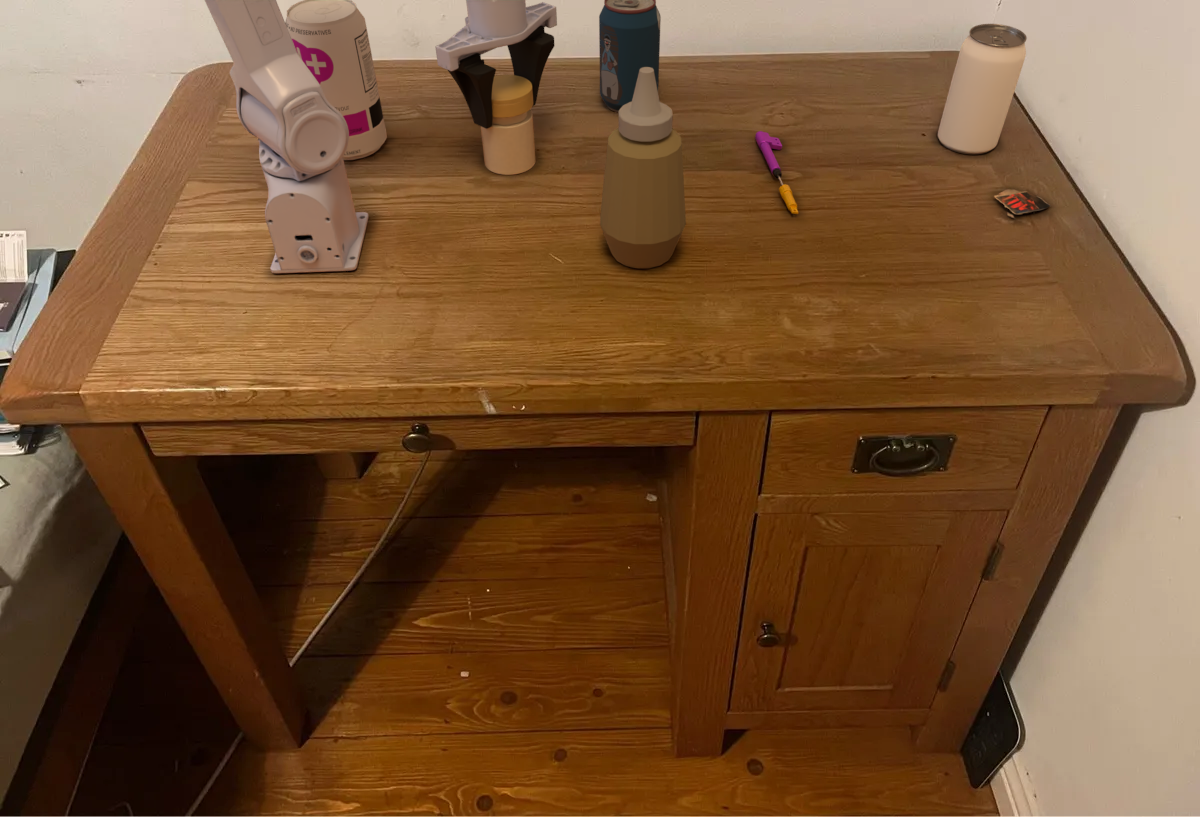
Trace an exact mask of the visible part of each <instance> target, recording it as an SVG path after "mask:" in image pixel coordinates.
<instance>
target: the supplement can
mask: <svg viewBox="0 0 1200 817" xmlns="http://www.w3.org/2000/svg"><path fill="white" fill-rule="evenodd" d="M285 24H286V26H287V29H288V31H289V34H290V36H291V39H292V41H293V43H294V46H295V48H296V51H297V53H298V55H299V56H300V58H301V59H302V61H303V62H304V63H305V65H306V66H307V67H308V69H309V70H310V72H311V73H312V74H313V76H314V77H315V78H316V80H317V81H318V83H319V84H320V86H321V88H322V91H323V93H324V96H325V98H326V99H327V101H328V102H329V103H330V104H331V105H332V106H333V107H334V108H335V109H337V110H338V111H339V112H340V113H341V114H342V115H343V117H344V119H345V120H346V123H347V126H348V130H349V141H348V146H347V149H346V151H345V154H344V155H343V160H344V161H354V160H359V159H363V158H366V157H369V156H371V155H373V154H374V153H376V152H377V151H379V150H380V149H381V147H382V146H383V145H384V144H385V141H386V140H387V139H388V136H387V135H388V134H387V128H386V123H385V117H384V112H383V108H382V102H381V97H380V96H381V95H380V92H379V91H380V90H379V86H378V81H377V76H376V70H375V64H374V60H373V54H372V49H371V44H370V39H369V33H368V28H367V22H366V19H365V16H364V15H363V14H362V12H361V11H360V10H359V8H358V7H357V4H356V3H355V1H353V0H301V1H298V2H296V3H294V4H292V5H290V6H289V7H288V9H287V10H286V17H285Z"/></svg>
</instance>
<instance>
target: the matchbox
mask: <svg viewBox="0 0 1200 817" xmlns="http://www.w3.org/2000/svg"><path fill="white" fill-rule="evenodd" d="M993 197H994V199H996V200H997V201H999V203H1001V204H1003V205H1004V208H1007V209H1009V211H1010V212H1011V213H1010V212H1007V216H1008V217H1010V218H1012V219H1013V220H1015V221H1016V220H1017V218H1016V217H1015V215H1023V214H1029V213H1032V212H1033V215H1034V214H1035V212H1037V211H1043V210H1045V209H1048V208H1050V207H1051V204H1049V202H1047V201H1045V200H1044V198H1042V197H1040V196H1039V195H1036V194H1033V193H1031V192H1029V191H1028V190H1024V191H1020V190H1017V189H1015V188H1012V189H1011V188H1007V189H1005V190H1003V191H1000V192H999V193H998V194H996V195H993Z"/></svg>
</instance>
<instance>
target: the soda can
mask: <svg viewBox="0 0 1200 817" xmlns="http://www.w3.org/2000/svg"><path fill="white" fill-rule="evenodd" d="M603 3H604V5H603V7H602V9H601V11H600V13H599V16H598V28H599V32H598V33H599V36H598V39H599V95H600V98H601V99H602V101H603V102H604V104H605V105H606V107H607V108H608V109H609V110H610V111H613V112H615V113H618V114H619V110H620V108H621V107H622V106H623V105H625V104H627V103H629V102H632V99H633V95H634V91H635V87H636V83H637V78H638V74H639V70H640V69H641V68H643V67H651V68H653V69H654V74H655V80H656V85H657V91H658V92H659V82H660V80H659V79H660V78H659V77H660V47H661V22H662V21H661V19H662V17H661V13H660V11H659V8H658V6H657V5H656V4H657V0H604V1H603Z"/></svg>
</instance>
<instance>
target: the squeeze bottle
mask: <svg viewBox="0 0 1200 817" xmlns="http://www.w3.org/2000/svg"><path fill="white" fill-rule="evenodd" d="M673 115H674V114H673V110H672V108H671V107H670V106H669V105H668V104H666V103H663V102H661V101H660V96H659V90H658V91H657V85H656V80H655V74H654V69H653V68H651V67H643V68H641V69H640V70H639V74H638V78H637V83H636V87H635V91H634V95H633V99H632V102H629V103H627V104H625V105H623V106H622V107H621V108H620V110H619V113H618V127H616V128H615V129H614V130H612V132H611V133H610V134H609V136H608V137H607V145H606V154H605V166H604V174H603V184H602V193H601V203H600V204H601V205H600V212H599V213H600V214H599V225H600V228H601V231H602V233H603V235H604V238H605V240H606V243H607V246H608V248H609V251H610V253H611V255H612V256H613V258H614V259H615V261H617V262H618V263H620V264H621V265H623V266H625V267H630V268H633V269H651V268H656V267H659V266H662V265H663V264H665V263H666V262H668V261H669V260H670V258H671V257H672V255H673V254H674V251H675V249H676V247H677V245H678V243H679V240H680V238H681V236H682V234H683V232H684V229H685V227H686V225H687V219H686V200H685V198H686V197H685V178H684V161H683V160H684V159H683V157H684V156H683V141H682V135H680V134H679V133H678V132H677V130H676V129H674V128H673V120H674V119H673V117H674V116H673Z"/></svg>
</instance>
